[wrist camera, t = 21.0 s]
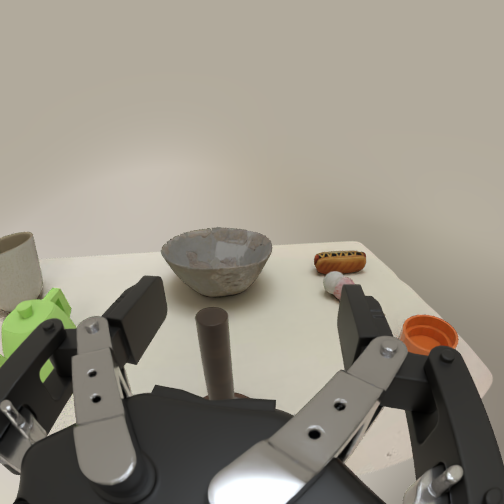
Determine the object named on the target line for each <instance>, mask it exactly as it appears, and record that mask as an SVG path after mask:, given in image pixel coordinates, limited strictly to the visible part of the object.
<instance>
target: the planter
mask: <svg viewBox="0 0 504 504" xmlns="http://www.w3.org/2000/svg"><path fill="white" fill-rule="evenodd" d="M42 284H43V280H42V273H41V268H40V264H39V259H38V255H37V251H36V246H35V242H34V237H33V234H32V233H31V232H20V233H15V234H11V235H8V236H4V237H2V238H0V309H1V310H4V311H7V312H12V311H13V310H14V309H15V308H16V306H17V305H18V304H19V303H21V302H23V301H27V300H34V299H37V298H38V296H39V294H40V292H41V289H42Z"/></svg>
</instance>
